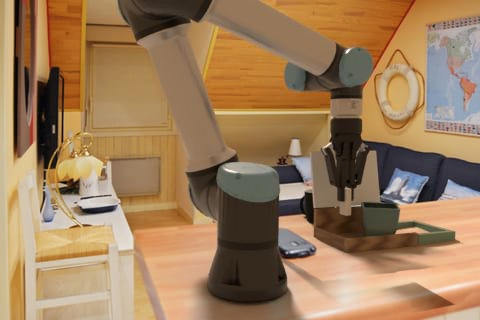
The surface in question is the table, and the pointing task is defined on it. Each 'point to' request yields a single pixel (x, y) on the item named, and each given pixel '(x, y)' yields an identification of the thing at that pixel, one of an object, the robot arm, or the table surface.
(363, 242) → the brown wooden box
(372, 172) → the lid
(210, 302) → the table surface
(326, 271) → the table surface
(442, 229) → the potting tray
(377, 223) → the flower pot
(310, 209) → the mug
